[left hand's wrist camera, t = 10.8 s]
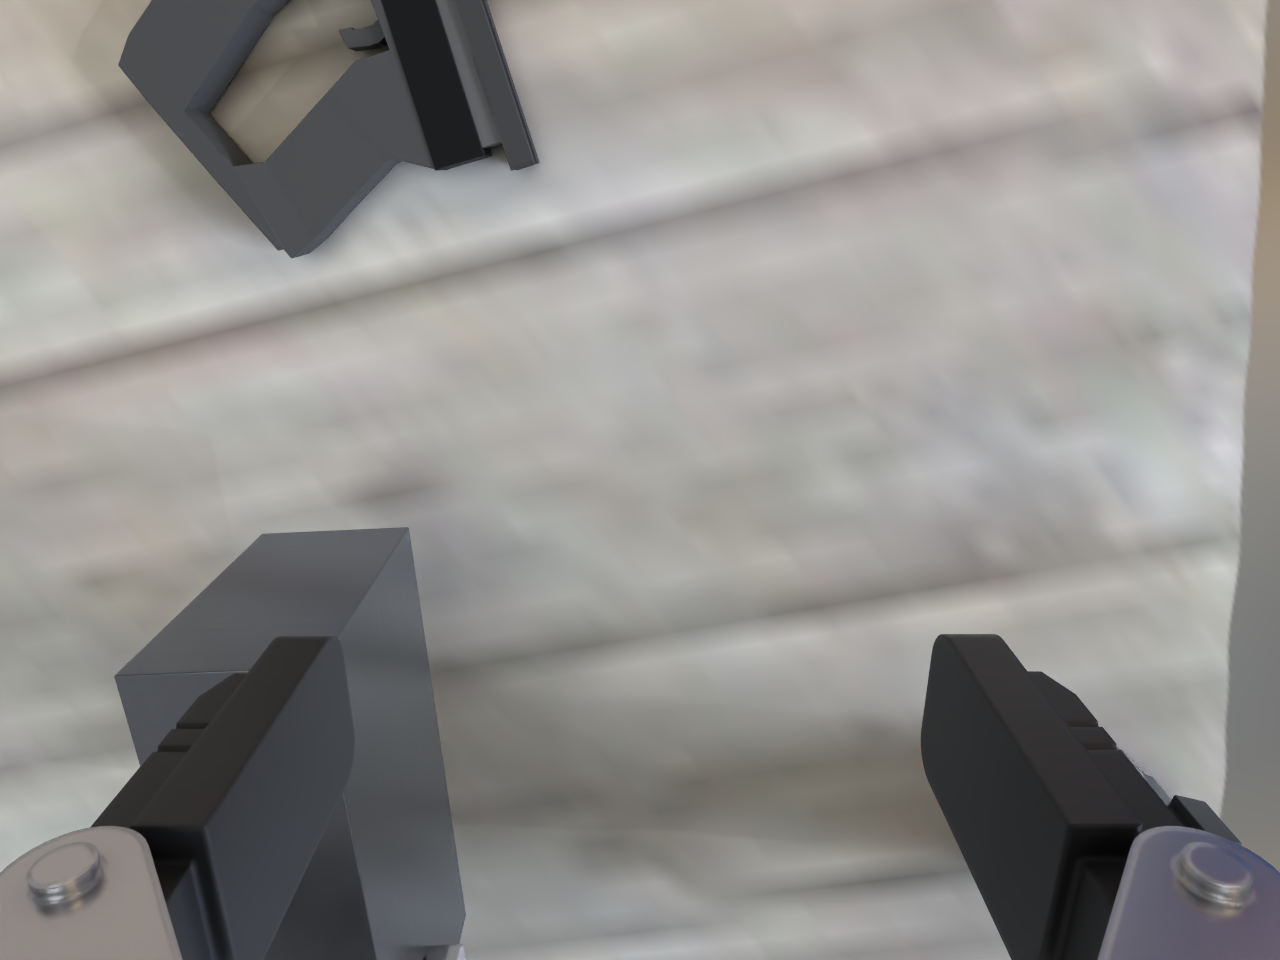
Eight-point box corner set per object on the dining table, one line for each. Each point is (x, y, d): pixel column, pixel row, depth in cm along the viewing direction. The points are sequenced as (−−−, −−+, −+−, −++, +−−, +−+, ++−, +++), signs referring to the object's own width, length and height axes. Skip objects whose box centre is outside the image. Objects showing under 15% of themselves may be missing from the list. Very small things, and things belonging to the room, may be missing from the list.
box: (261, 533, 35) (113, 675, 25) (408, 526, 35) (318, 667, 25) (342, 919, 42) (251, 1152, 32) (466, 914, 42) (413, 1146, 32)
